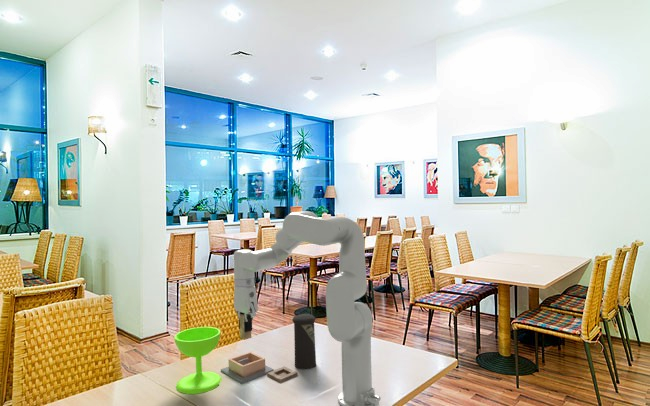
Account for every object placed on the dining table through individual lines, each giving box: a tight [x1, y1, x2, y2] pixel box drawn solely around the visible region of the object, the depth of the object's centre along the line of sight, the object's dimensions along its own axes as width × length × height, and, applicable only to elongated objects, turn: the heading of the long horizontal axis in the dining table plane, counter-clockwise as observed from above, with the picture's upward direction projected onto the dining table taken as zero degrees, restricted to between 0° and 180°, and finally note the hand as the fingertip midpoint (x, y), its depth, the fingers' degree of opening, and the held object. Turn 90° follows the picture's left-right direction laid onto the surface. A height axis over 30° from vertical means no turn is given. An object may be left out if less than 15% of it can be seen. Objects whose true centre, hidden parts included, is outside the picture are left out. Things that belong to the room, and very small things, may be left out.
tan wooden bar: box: [239, 313, 252, 341], centre depth 154 cm, size 3×3×9 cm
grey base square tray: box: [220, 351, 275, 384], centre depth 154 cm, size 15×14×5 cm
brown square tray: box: [266, 365, 298, 383], centre depth 149 cm, size 8×8×2 cm
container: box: [292, 313, 317, 370], centre depth 158 cm, size 9×9×20 cm
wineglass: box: [173, 326, 222, 395], centre depth 146 cm, size 16×16×18 cm
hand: (245, 329), depth 154 cm, fingers closed on tan wooden bar, 3 cm apart
